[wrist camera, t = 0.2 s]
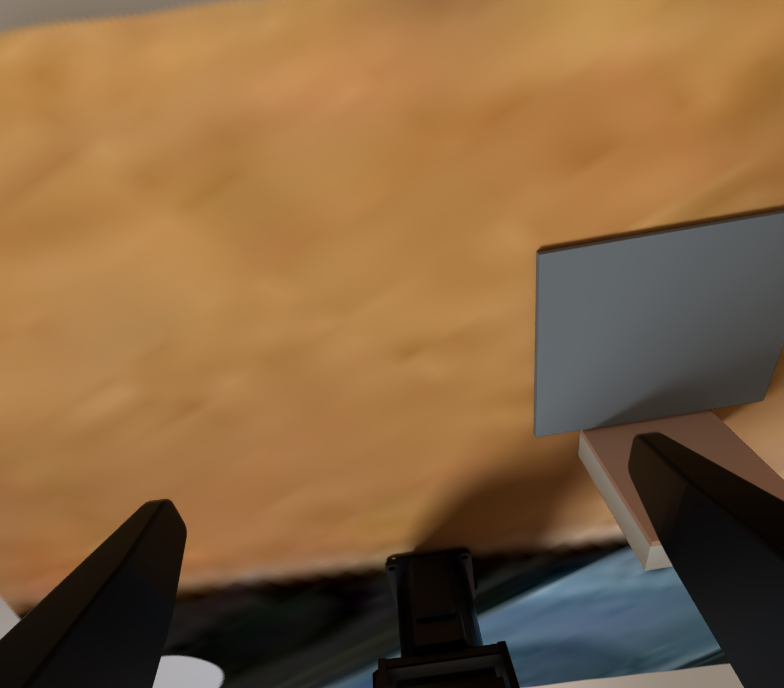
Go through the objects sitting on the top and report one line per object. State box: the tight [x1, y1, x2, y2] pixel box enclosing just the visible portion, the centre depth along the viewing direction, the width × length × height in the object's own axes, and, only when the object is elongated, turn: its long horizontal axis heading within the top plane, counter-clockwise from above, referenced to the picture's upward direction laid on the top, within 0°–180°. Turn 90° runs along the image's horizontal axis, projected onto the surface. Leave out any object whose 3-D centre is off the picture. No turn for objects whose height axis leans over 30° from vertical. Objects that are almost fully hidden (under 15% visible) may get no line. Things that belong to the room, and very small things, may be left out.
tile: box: [578, 409, 784, 571], centre depth 25 cm, size 2×8×8 cm, turn 99°
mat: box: [534, 210, 784, 437], centre depth 25 cm, size 12×14×1 cm
